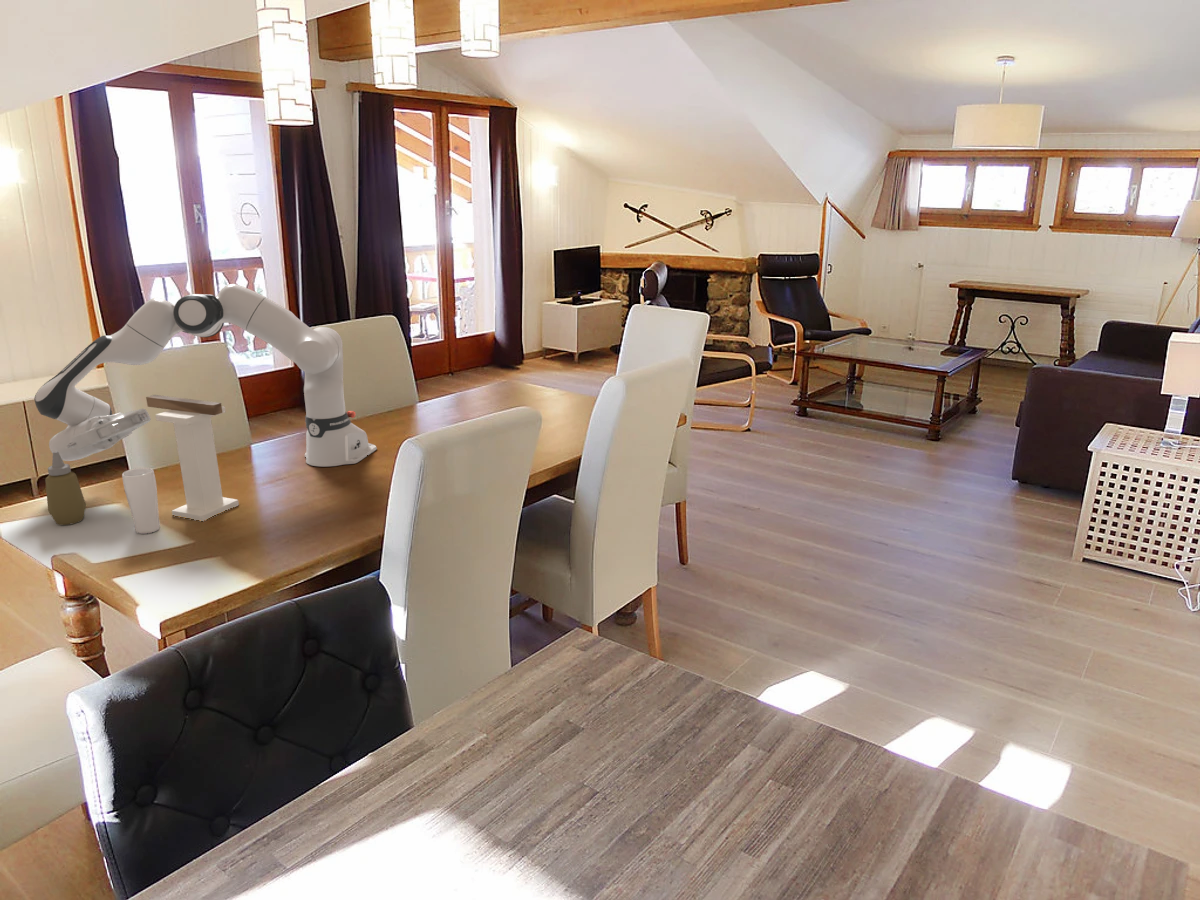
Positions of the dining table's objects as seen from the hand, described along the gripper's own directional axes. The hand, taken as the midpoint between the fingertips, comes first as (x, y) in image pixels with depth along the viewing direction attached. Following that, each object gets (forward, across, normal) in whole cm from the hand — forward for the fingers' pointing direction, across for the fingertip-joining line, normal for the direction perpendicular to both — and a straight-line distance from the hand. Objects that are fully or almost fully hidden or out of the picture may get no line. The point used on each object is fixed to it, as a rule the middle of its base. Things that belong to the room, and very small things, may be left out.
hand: (131, 421), depth 220 cm
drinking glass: (+8, -16, +25) cm, 31 cm away
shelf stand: (+11, -2, +28) cm, 30 cm away
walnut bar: (+19, 0, +2) cm, 19 cm away
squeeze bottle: (-14, -18, +17) cm, 29 cm away
